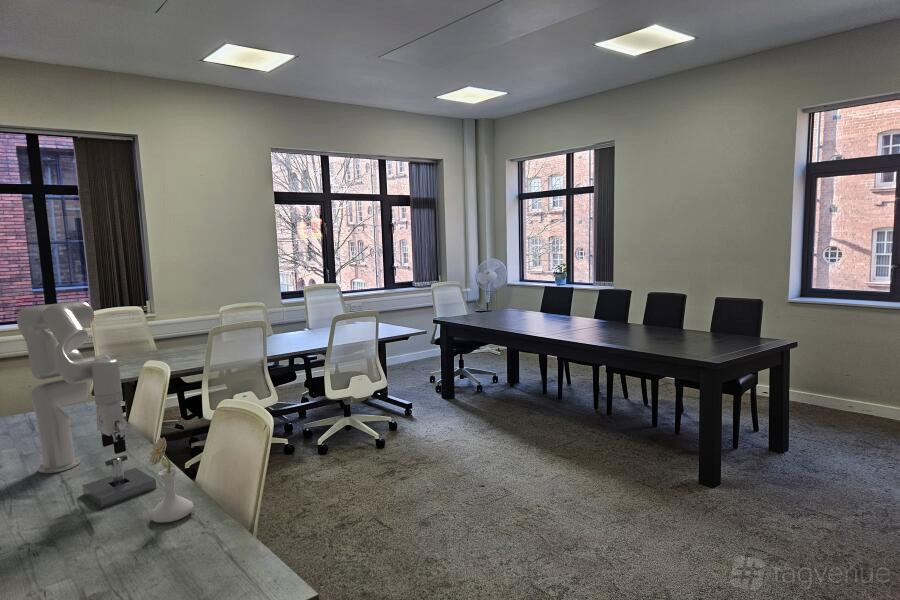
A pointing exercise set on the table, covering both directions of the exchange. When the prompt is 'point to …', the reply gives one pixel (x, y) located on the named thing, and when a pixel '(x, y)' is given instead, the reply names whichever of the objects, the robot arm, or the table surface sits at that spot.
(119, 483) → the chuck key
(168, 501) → the flower in vase
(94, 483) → the block
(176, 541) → the table surface
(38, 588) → the table surface
